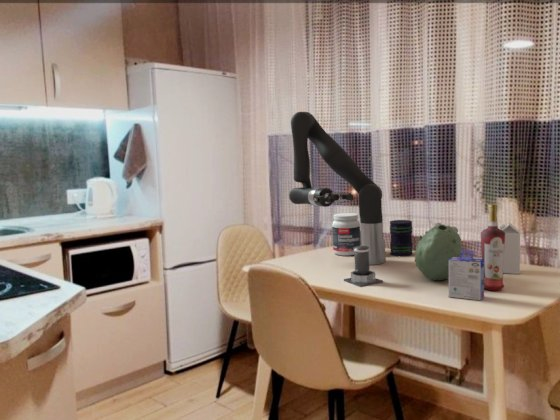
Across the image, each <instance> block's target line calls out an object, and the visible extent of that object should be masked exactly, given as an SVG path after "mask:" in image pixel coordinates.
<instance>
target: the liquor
mask: <svg viewBox="0 0 560 420" xmlns="http://www.w3.org/2000/svg"><path fill="white" fill-rule="evenodd" d="M487 206H488V207H487V208H488V210H487V211H488V224H487V228H486V229H485V228H484V229H482V230H481V232H480V248H481V250H480V251H481V259H484V290H487V291H488V292H489V291H490V292H499V291H501V290H502V289H503V288H504V287H505V285H504V283H503V282H504V273H503V262H504V248H505V232H504V231H502V230H501V229H500V228H499V227H498V215H497V214H498V203H497V204H496V203H495V204H494V203H490V204H489V203H488V205H487Z"/></svg>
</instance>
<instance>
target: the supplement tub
mask: <svg viewBox="0 0 560 420" xmlns="http://www.w3.org/2000/svg"><path fill="white" fill-rule="evenodd" d="M358 219H359V214H358V213H356V212H355V213H353V212H341V213H335V214H333V221H332V224H331V230H332V232H331V233H332V235H331V236H332V252H333V253H334V255H337V256H343V257H346V256H347V257H348V256H349V257H350V256H354V247H356V246H361V228H360V220H358Z"/></svg>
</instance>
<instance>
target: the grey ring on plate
mask: <svg viewBox="0 0 560 420" xmlns="http://www.w3.org/2000/svg"><path fill="white" fill-rule="evenodd" d="M343 281H344V282H347V283H349V284H352V285H354V286H357V287H366V286H370V285H376V284H380V283H383V282H384V281H383V280H382V279H379V278H376V272H375V271H373V270H370V275H355V270H353V271H351V272H350V277H347V278H344V279H343Z"/></svg>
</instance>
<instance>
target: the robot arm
mask: <svg viewBox="0 0 560 420" xmlns="http://www.w3.org/2000/svg"><path fill="white" fill-rule="evenodd" d="M290 118H291V119H290V129H291V135H292V144H293V145H292V146H293V181H294V182H296V183H300V184H301V185H302V187H294V188H291V190H290V191H289V194H288V197H289V200H290V202H291V203H292V204H294V205H313V206H316V207H323V208H324V207H325V208H327V207H330V206H332V204H334V203H337V202H338V203H339V202H341V203H342V202H343V201H347V202H348V201H354V194H352V192H335V191H334V192H333V190H332V189H331V188H328V187H315V188H314V187H313V186H312V182H311V176H310V175H311V174H310V173H311V161H310V155H309V154H310V153H309V148H308V146H309V145H308V140H309V141H310V142H311V143H312V144H313V145H314V146H315V147H316V149H317V151H318V153H319V155H320V157H321V158H322V160H323V161H324V162H325V163H326V164H327V166H328V167H329V168H331V170H332V171H333V172H334V173H336V174H337V175H338V177H341V178H342V179H343V180H345V181H346V182H347V183H349V185H350V186H352V188H353V189H354V190H355V191H356V193H357V194H358V210H359V211H358V213H359V214H358V216H359V222H360V246H368V247H369V266H370V265H372V266H373V265H381V264H383V263H386V240H385V239H384V229H383V228H384V227H383V225H384V224H383V220H384V219H383V208H382V198H383V191H382V189H381V187H380V186H379V185H377V183H375V182H374V181H373V180H372V179H370V177H368V176H367V175H366V174H365V173H364V172H363V171H362V170H361V169H360V167H359V166H358V164H357V163H356V161H354V159H353V158H352V157H351V156H350V155H349V154H348V152H347V151H346V150H345V149H344V148H343V147H342V146H341V145H340V144H339V143H338V142H337V141H336V140H334V138H333V137H332V136H331V135H329V134H328V132H326V130H325V129H324V128H323V127H322V125H321V124H320V123H319V121H318V120H317V119H316V118H315V116H314V115H313V114H312V113H310V112H308V111H297V112H295V113H294V114H293V115H292V117H290Z"/></svg>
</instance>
